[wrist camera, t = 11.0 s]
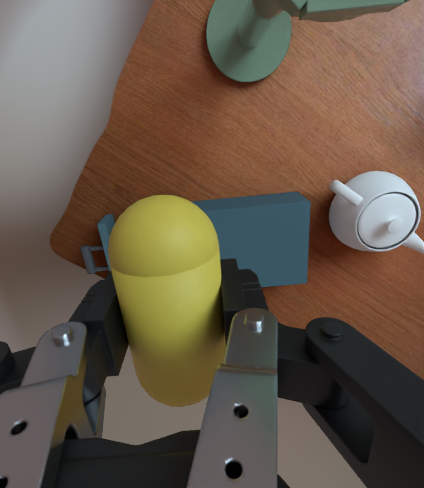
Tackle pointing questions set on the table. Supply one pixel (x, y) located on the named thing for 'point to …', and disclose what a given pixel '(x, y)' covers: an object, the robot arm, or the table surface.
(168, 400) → the yellow rounded capsule
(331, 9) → the cake stand
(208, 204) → the cabinet
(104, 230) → the drawer
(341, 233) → the teapot
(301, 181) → the table surface
